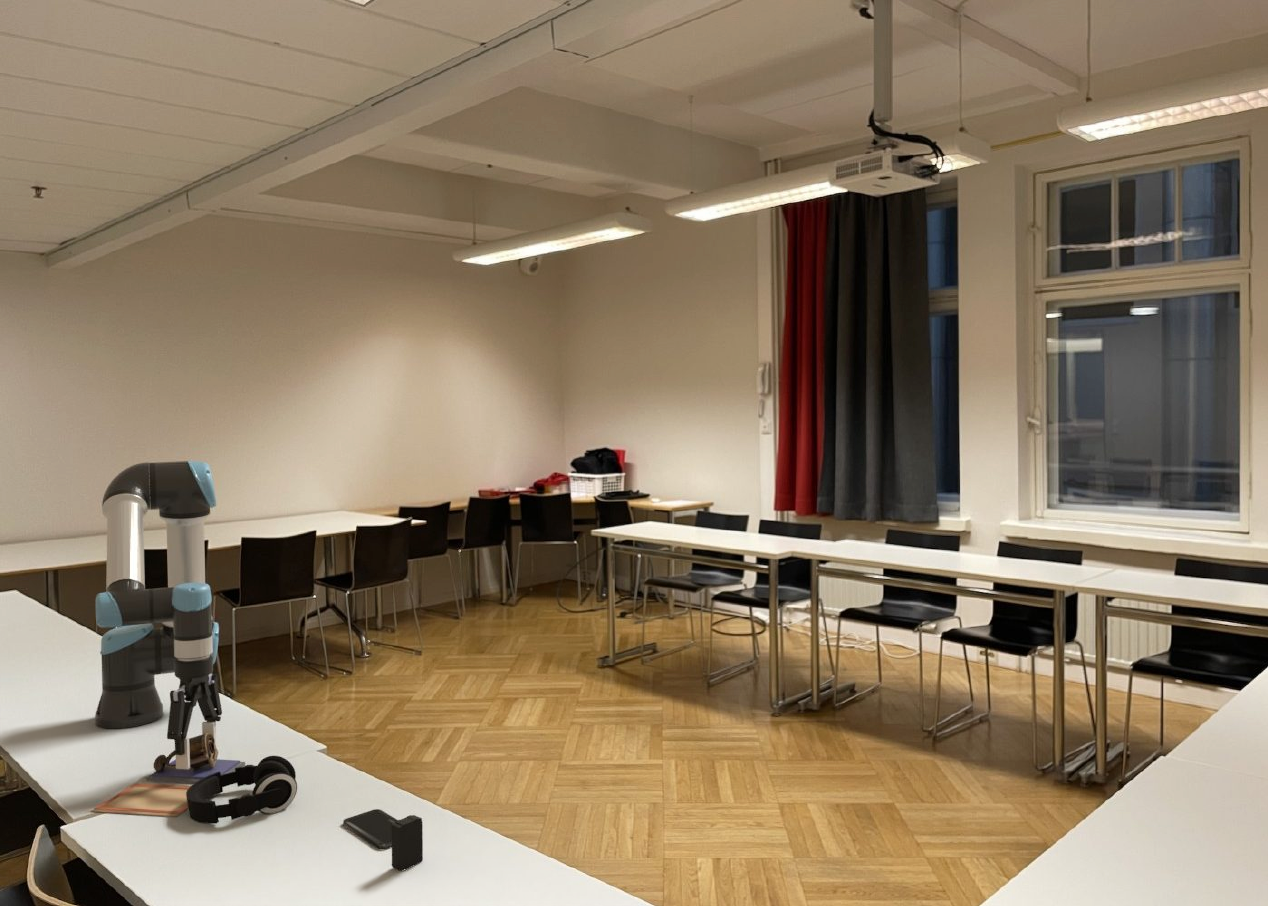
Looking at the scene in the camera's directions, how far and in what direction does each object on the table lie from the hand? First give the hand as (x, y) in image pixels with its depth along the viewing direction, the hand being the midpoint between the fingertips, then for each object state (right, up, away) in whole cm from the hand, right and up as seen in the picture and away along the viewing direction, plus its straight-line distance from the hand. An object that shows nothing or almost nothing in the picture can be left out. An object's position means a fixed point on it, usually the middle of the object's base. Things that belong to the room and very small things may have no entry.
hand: (196, 759), depth 208 cm
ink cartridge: (+55, -5, -41) cm, 68 cm away
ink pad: (0, -3, 0) cm, 3 cm away
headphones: (+17, -4, -16) cm, 24 cm away
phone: (+47, -5, -27) cm, 54 cm away
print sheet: (-2, -4, -14) cm, 14 cm away
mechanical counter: (-2, -2, 0) cm, 3 cm away
